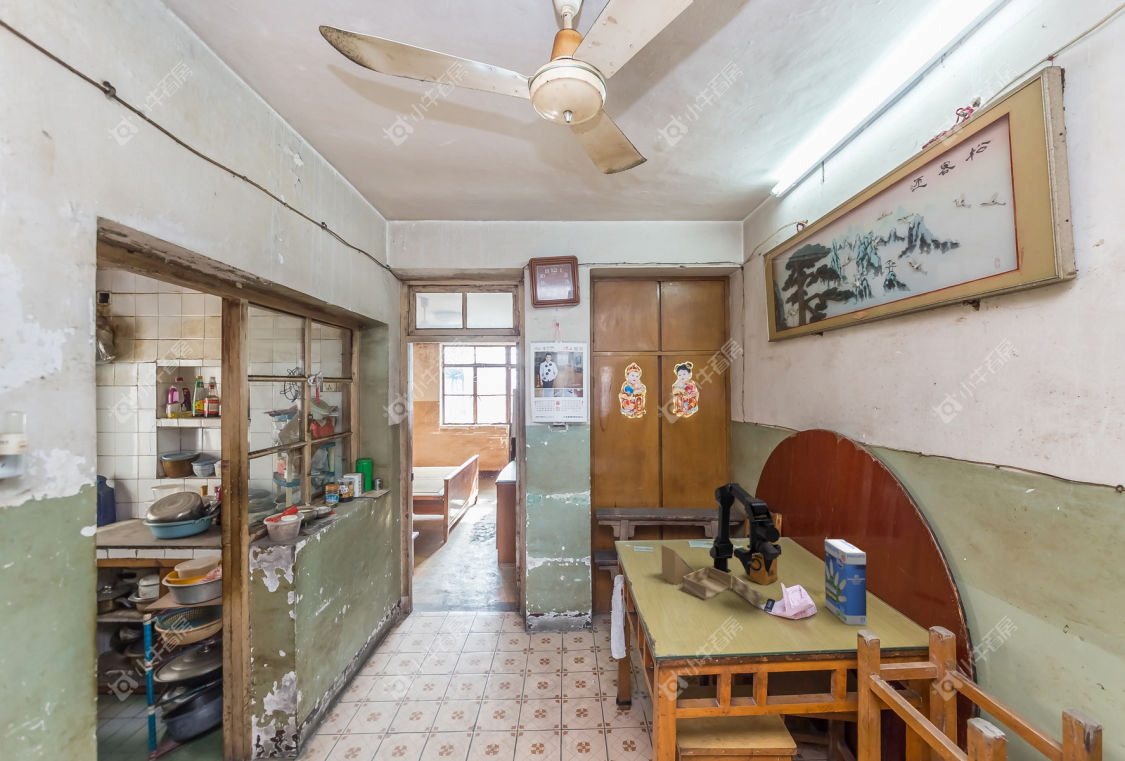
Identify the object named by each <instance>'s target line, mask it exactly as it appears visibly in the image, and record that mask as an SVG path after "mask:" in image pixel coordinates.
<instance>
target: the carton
mask: <svg viewBox="0 0 1125 761" xmlns="http://www.w3.org/2000/svg"><path fill="white" fill-rule="evenodd" d="M681 584H682V590H683V592H686V593H688V594H691V595H693V596H695V597H696V598H700V599H702V600H703V601H707V600H709V599H711V598H713V597H715V596H718V595H719V594H721V593H723V592H725V591H728V590H729V589H732V574H730V573H729V572H728V573H725V572H723V571H720V570H718V569H715V568H714V567H712V566H709V565H707V566H704V567H702V568H700V569H698V570H694V572H693V573H690V574H688V575H686V576H683V577H682V583H681Z"/></svg>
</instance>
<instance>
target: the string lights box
mask: <svg viewBox="0 0 1125 761" xmlns="http://www.w3.org/2000/svg"><path fill="white" fill-rule="evenodd" d="M824 570H825V571H824V576H825V578H824V579H825V581H824V582H825V584H824V585H825V587H824V588H825V607H827V609H828V610H830V611H831V612H832V614H834V615H835V616H836V617H837V618H839V619H840V620H841V621H842V622H843V623H844V624H845V625H849V626H850V625H852V626H867V622H868V621H867V553H866V552H865V551H863V550H861V549H859V548H858V547H856V546H855V545H853V544H851V543H849V542H847V541H846V540H844V539H829V538H828V539H827V538H826V539H824Z"/></svg>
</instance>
